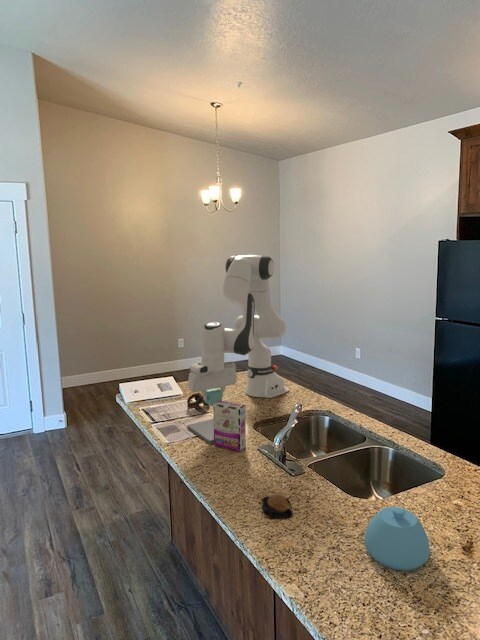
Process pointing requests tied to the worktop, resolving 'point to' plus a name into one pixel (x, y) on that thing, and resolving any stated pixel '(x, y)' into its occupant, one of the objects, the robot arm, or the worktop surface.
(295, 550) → the worktop surface
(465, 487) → the worktop surface
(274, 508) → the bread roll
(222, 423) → the candy bar box
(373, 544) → the sugar bowl
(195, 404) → the brown arched frame
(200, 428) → the slate board
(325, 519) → the worktop surface
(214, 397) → the teal block
